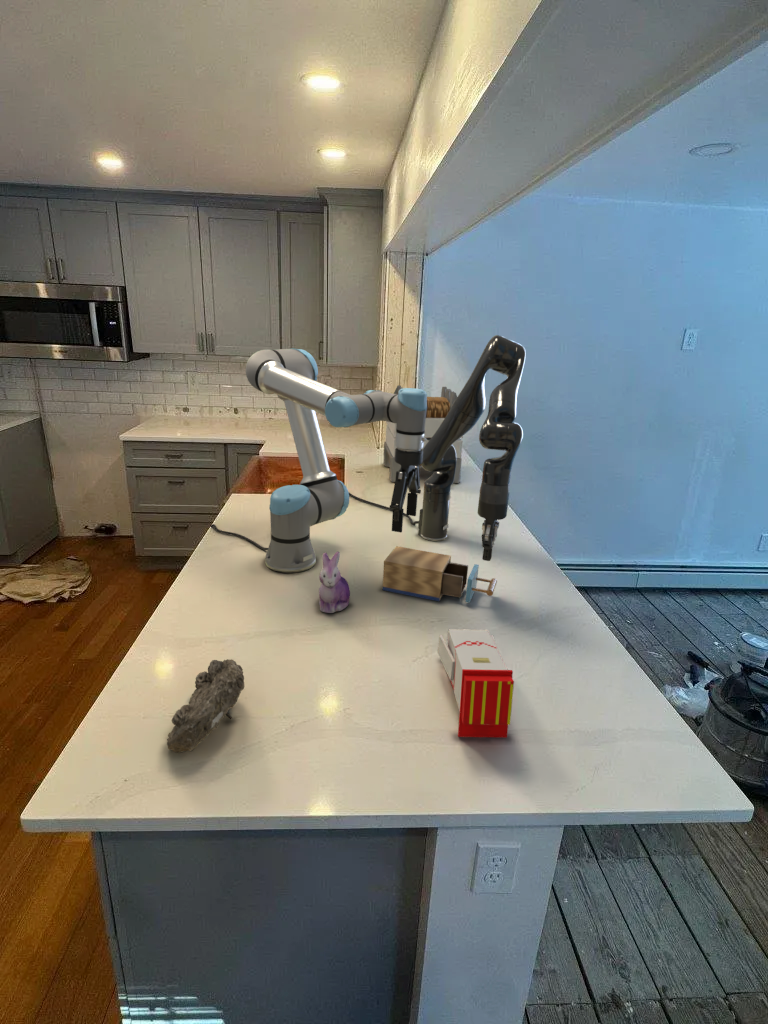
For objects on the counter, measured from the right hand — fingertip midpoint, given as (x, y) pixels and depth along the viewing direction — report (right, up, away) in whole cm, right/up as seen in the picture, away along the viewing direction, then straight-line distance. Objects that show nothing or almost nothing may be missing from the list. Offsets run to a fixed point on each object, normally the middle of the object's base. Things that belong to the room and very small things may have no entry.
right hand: (486, 559), depth 153 cm
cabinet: (-18, -9, +10) cm, 23 cm away
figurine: (-41, -12, -3) cm, 43 cm away
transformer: (-10, +32, +122) cm, 127 cm away
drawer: (-7, -9, +6) cm, 13 cm away
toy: (-10, -25, -34) cm, 43 cm away
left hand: (-22, +10, +5) cm, 25 cm away
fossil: (-60, -26, -45) cm, 80 cm away
